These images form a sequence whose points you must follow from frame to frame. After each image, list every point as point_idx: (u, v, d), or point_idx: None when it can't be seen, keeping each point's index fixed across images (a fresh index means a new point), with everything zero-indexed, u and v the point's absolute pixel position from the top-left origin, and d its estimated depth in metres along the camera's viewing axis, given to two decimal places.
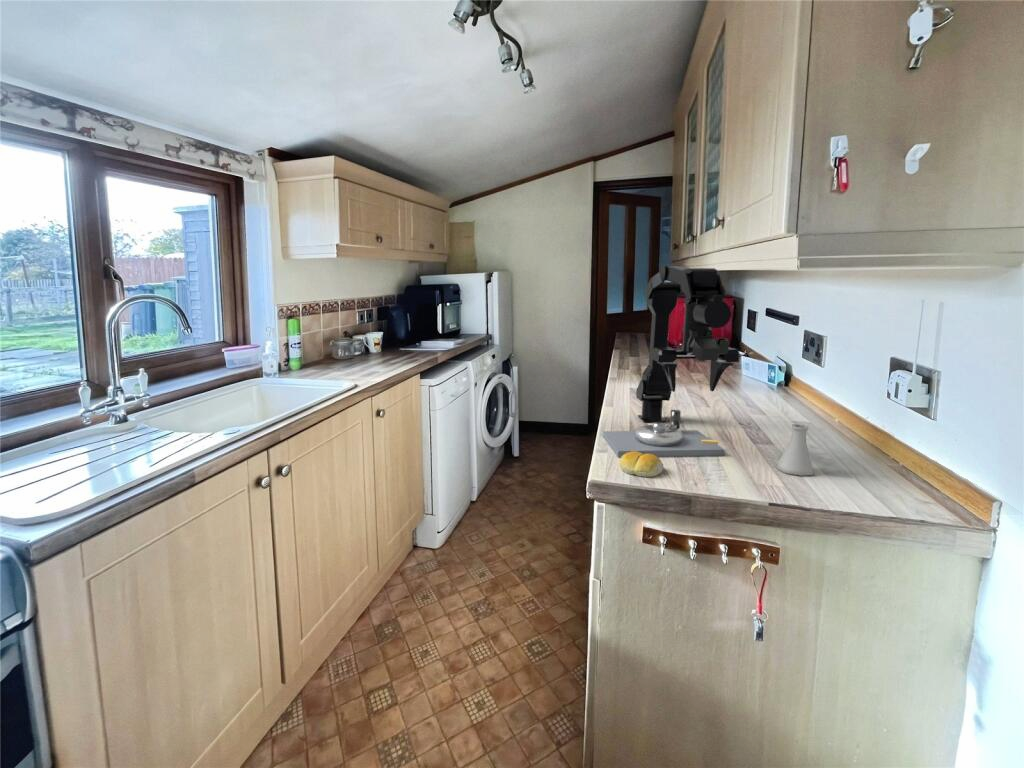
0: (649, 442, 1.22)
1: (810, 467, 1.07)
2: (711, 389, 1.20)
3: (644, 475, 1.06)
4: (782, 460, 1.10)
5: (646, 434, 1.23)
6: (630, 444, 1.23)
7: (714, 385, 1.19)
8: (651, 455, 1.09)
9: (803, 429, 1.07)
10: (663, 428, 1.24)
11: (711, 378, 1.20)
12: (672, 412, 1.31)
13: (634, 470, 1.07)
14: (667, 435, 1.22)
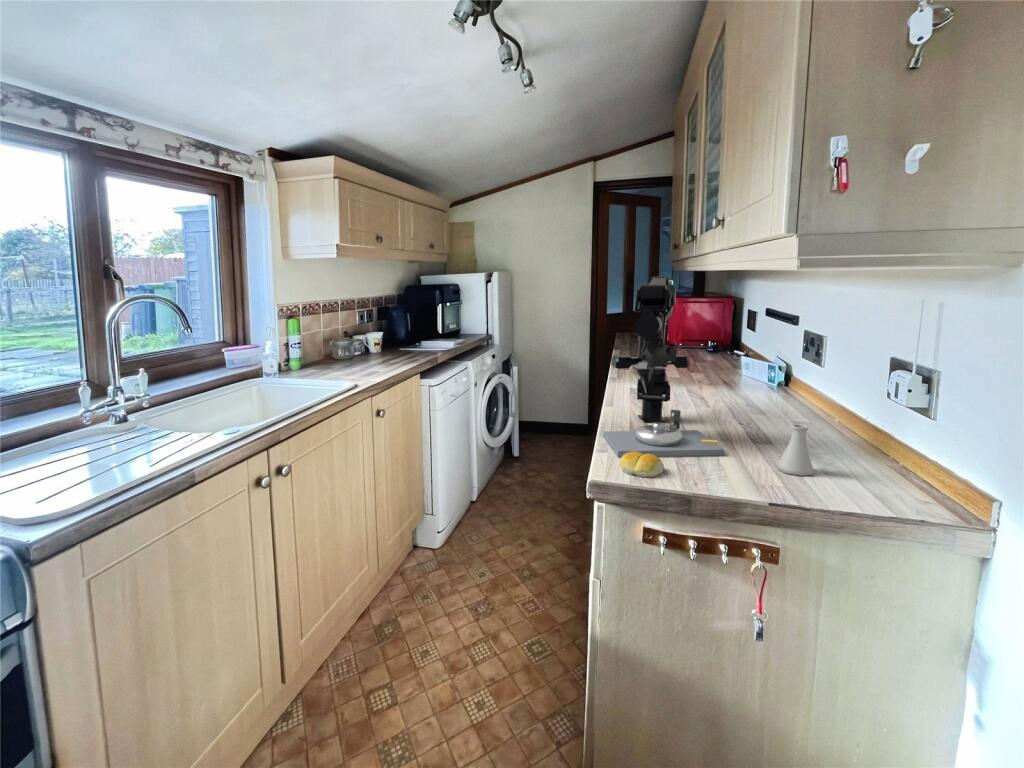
0: (649, 442, 1.22)
1: (810, 467, 1.07)
2: None
3: (644, 475, 1.06)
4: (782, 460, 1.10)
5: (646, 434, 1.23)
6: (630, 444, 1.23)
7: (650, 388, 1.33)
8: (651, 455, 1.09)
9: (803, 429, 1.07)
10: (663, 428, 1.24)
11: None
12: (672, 412, 1.31)
13: (634, 470, 1.07)
14: (667, 435, 1.22)
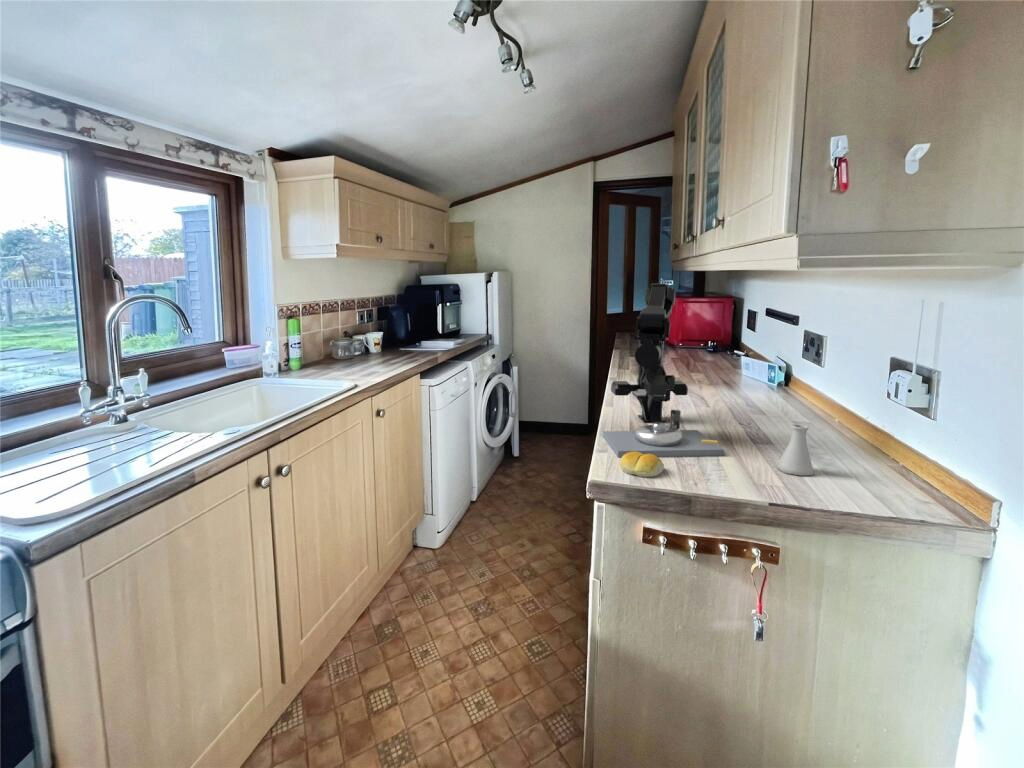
0: (649, 442, 1.22)
1: (810, 467, 1.07)
2: None
3: (645, 475, 1.06)
4: (782, 460, 1.10)
5: (646, 434, 1.23)
6: (630, 444, 1.23)
7: (649, 415, 1.34)
8: (651, 455, 1.09)
9: (803, 429, 1.07)
10: (663, 428, 1.24)
11: None
12: (672, 412, 1.31)
13: (634, 470, 1.07)
14: (667, 435, 1.22)
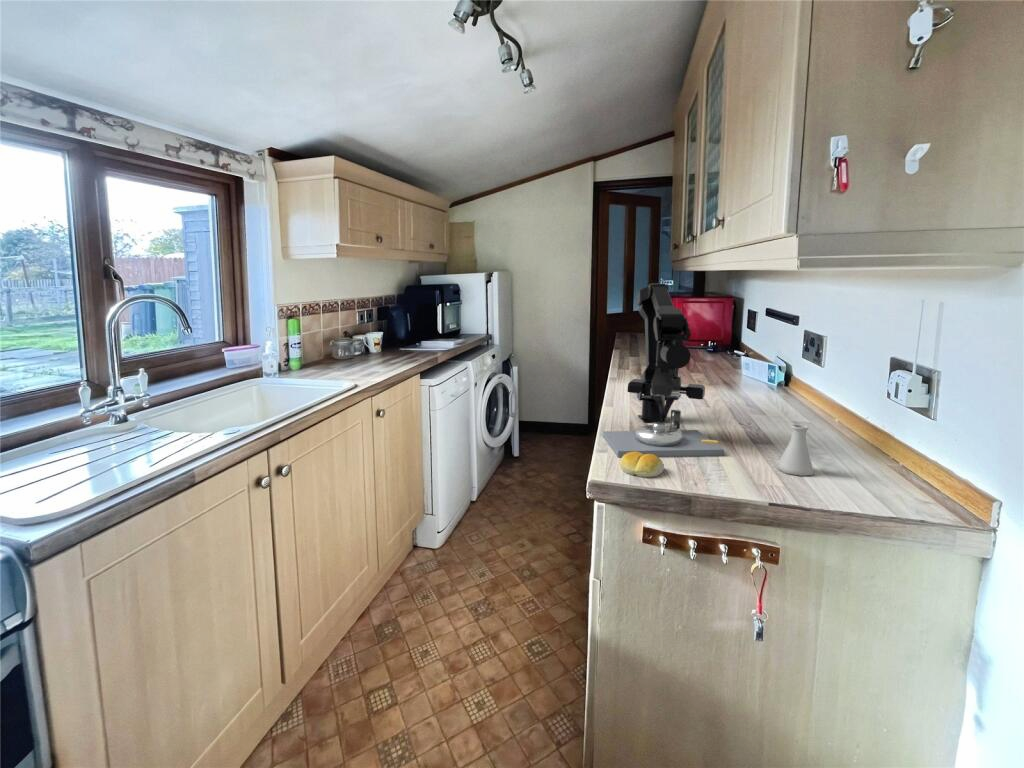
0: (649, 442, 1.22)
1: (810, 467, 1.07)
2: None
3: (645, 475, 1.06)
4: (782, 460, 1.10)
5: (646, 434, 1.23)
6: (630, 444, 1.23)
7: (664, 416, 1.33)
8: (652, 455, 1.09)
9: (803, 429, 1.07)
10: (663, 428, 1.24)
11: None
12: (672, 412, 1.31)
13: (635, 470, 1.07)
14: (667, 435, 1.22)
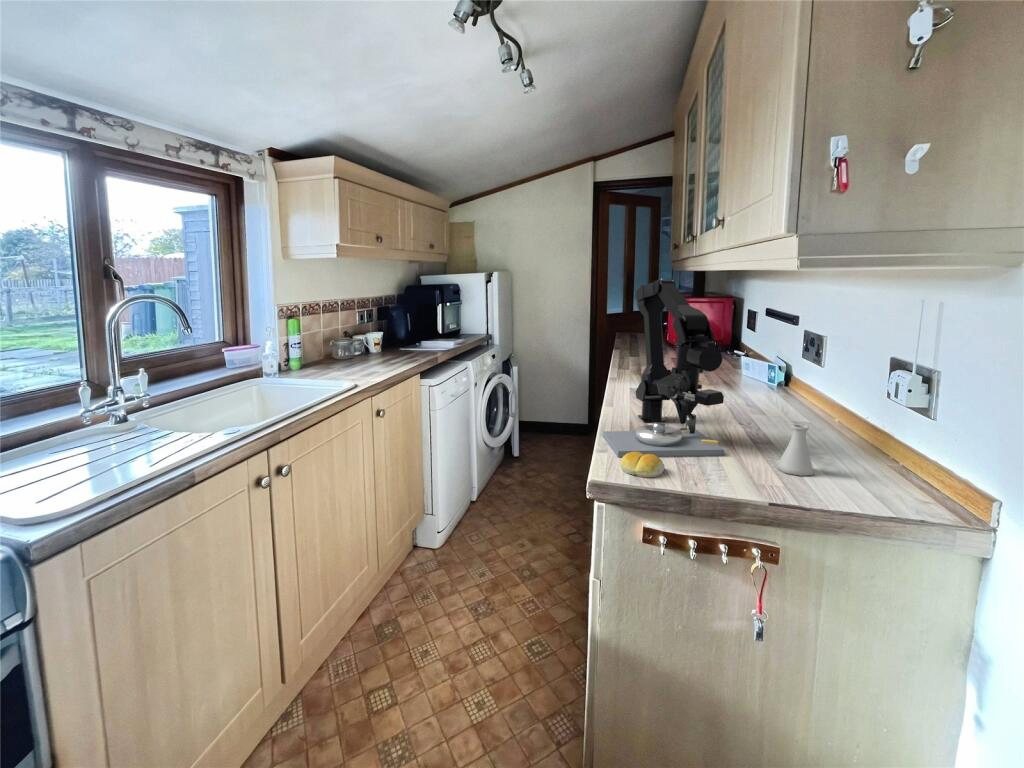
0: (639, 439, 1.24)
1: (810, 467, 1.07)
2: None
3: (645, 475, 1.06)
4: (782, 460, 1.10)
5: (640, 431, 1.25)
6: (630, 444, 1.23)
7: (681, 418, 1.30)
8: (652, 455, 1.09)
9: (803, 429, 1.07)
10: (660, 428, 1.24)
11: None
12: (686, 416, 1.28)
13: (635, 470, 1.07)
14: (658, 435, 1.22)
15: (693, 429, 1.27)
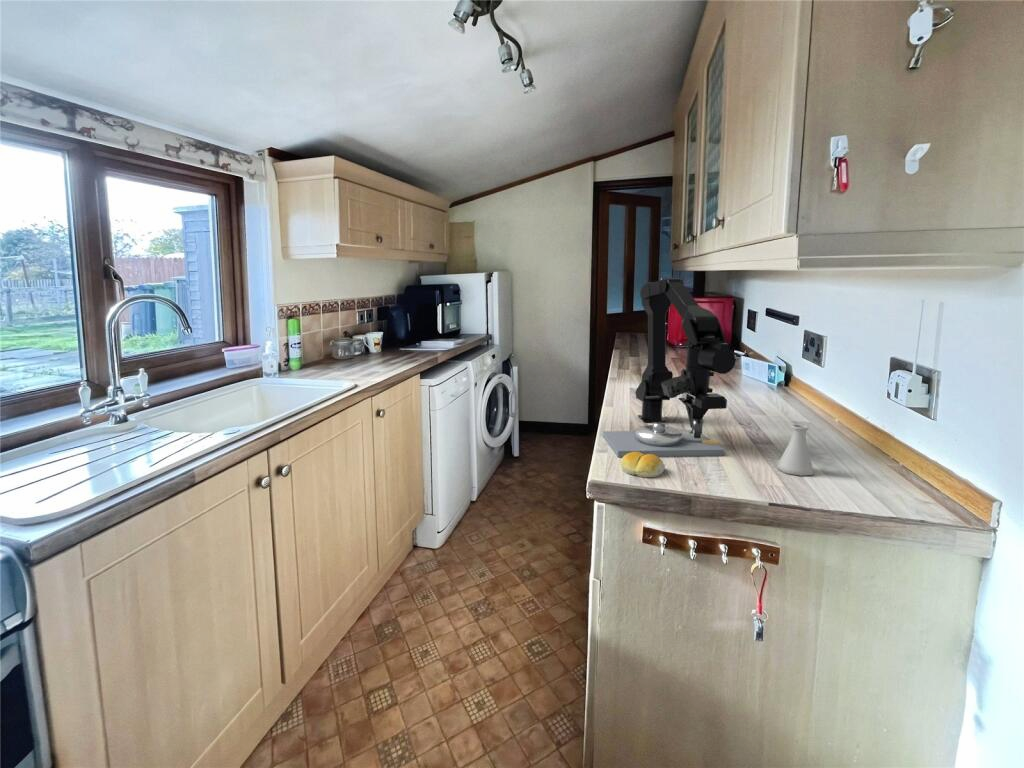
0: (635, 436, 1.26)
1: (810, 467, 1.07)
2: None
3: (646, 475, 1.06)
4: (782, 460, 1.10)
5: (639, 429, 1.27)
6: (630, 444, 1.23)
7: (691, 422, 1.27)
8: (652, 455, 1.08)
9: (803, 429, 1.07)
10: (657, 428, 1.24)
11: None
12: None
13: (635, 470, 1.06)
14: (651, 434, 1.23)
15: (698, 434, 1.23)
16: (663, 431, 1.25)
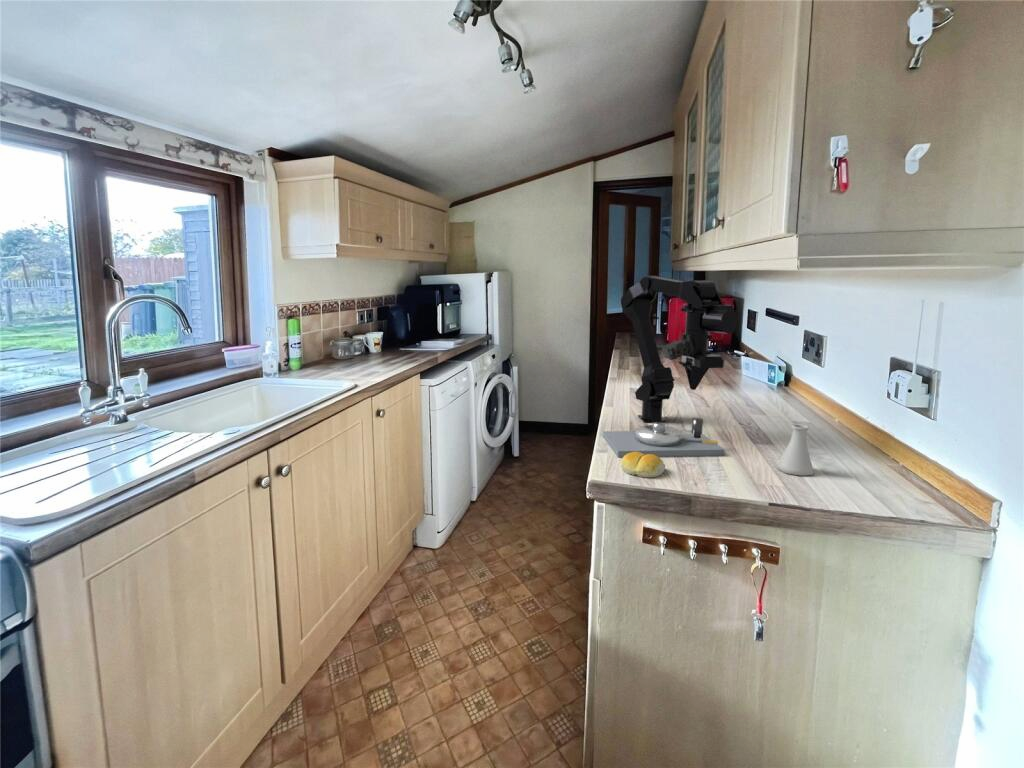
0: (635, 436, 1.26)
1: (810, 467, 1.07)
2: None
3: (646, 476, 1.06)
4: (782, 460, 1.10)
5: (639, 429, 1.27)
6: (630, 444, 1.23)
7: (691, 384, 1.34)
8: (653, 455, 1.08)
9: (803, 429, 1.07)
10: (657, 428, 1.24)
11: None
12: None
13: (636, 470, 1.06)
14: (651, 434, 1.23)
15: (698, 434, 1.23)
16: (663, 431, 1.25)
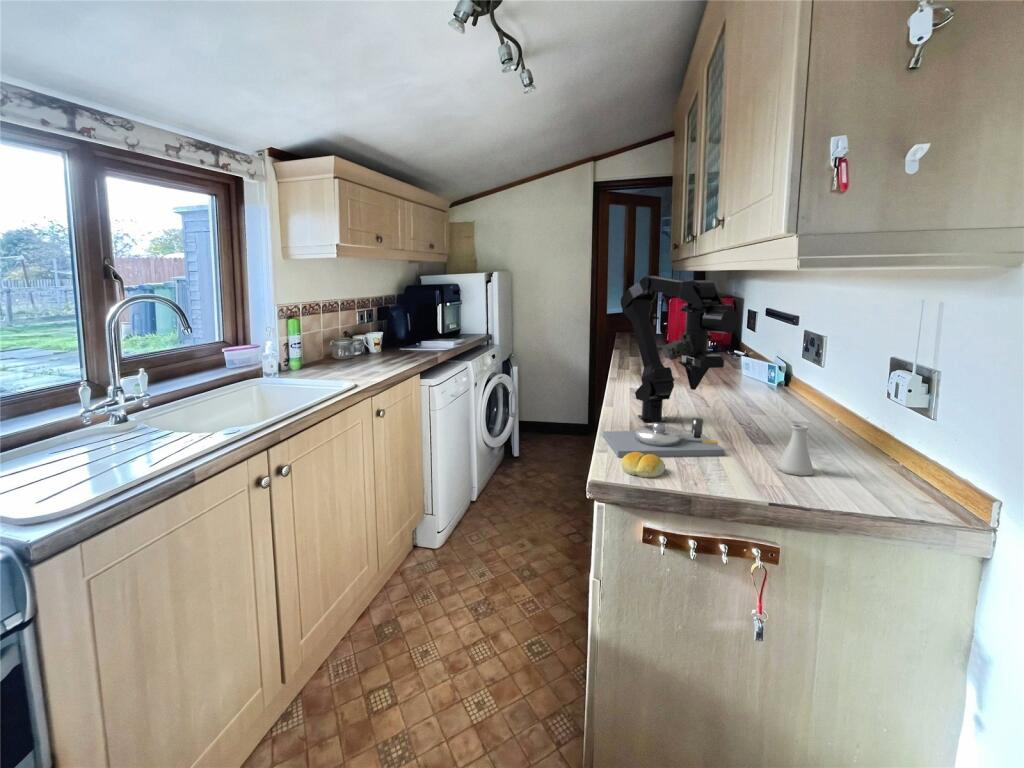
0: (635, 436, 1.26)
1: (810, 467, 1.07)
2: None
3: (646, 476, 1.06)
4: (782, 460, 1.10)
5: (639, 429, 1.27)
6: (630, 444, 1.23)
7: (691, 384, 1.34)
8: (653, 456, 1.08)
9: (803, 429, 1.07)
10: (657, 428, 1.24)
11: None
12: None
13: (636, 471, 1.06)
14: (651, 434, 1.23)
15: (698, 434, 1.23)
16: (663, 431, 1.25)
